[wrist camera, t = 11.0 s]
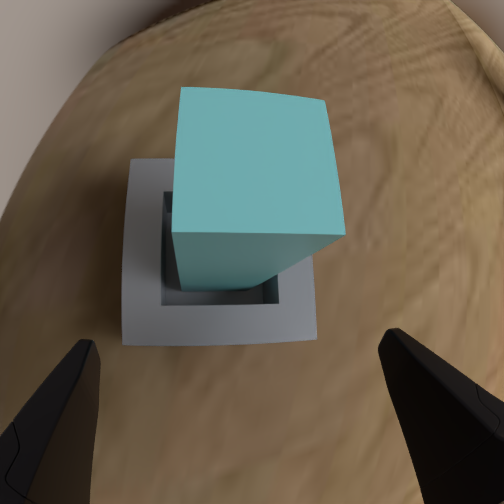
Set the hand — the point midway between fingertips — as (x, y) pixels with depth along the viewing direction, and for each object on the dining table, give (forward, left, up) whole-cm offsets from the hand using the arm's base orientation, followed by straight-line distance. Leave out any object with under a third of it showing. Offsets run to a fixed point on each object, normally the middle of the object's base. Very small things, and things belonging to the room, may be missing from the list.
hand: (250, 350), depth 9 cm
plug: (+3, -4, -10) cm, 12 cm away
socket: (+3, -4, -11) cm, 12 cm away
